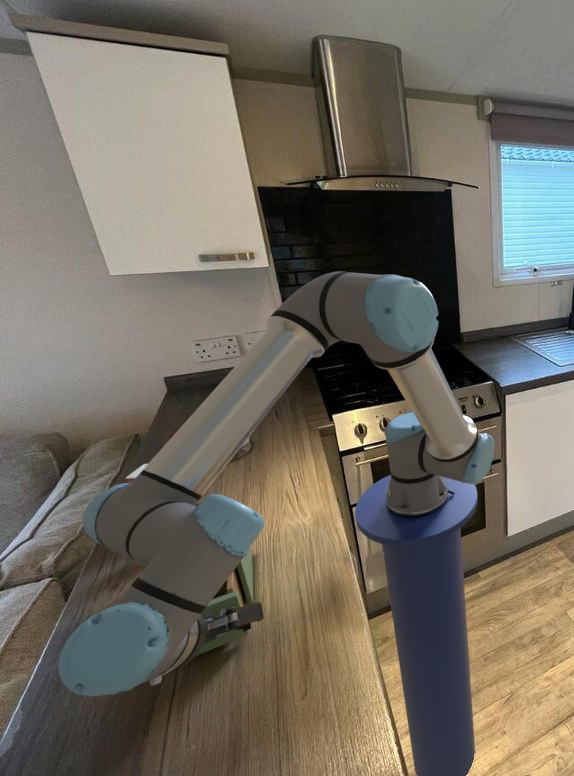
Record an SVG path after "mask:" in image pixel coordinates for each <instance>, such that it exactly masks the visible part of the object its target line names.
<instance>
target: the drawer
mask: <svg viewBox="0 0 574 776" xmlns="http://www.w3.org/2000/svg"><path fill="white" fill-rule="evenodd" d="M243 595H244V590H243V586H242V583H241V580H240V576H239V573H238V569H237V567H236V568H235V569H234V571H233V572H232V573H231V575H230V576H229V577H228V579H227V580H226V581H225V583H224V584H223V585H222V587H221V588H220V589H219V591H218V592H217V593H216V595H215V596H214V597H213V599H212V600H211V601H210V603H209V604H208V605H207V607H206V608H205V609H204V611H203V612H202V614H201V616H202V617H203V616H207V615H210V614H213V615H214V616H215V617H217V616H220V615H223V612H225V611H226V610H227V609H229V608H231V607H241V606H243ZM248 635H249V630H247V631H245V632H243V629H242V630H237V629H235V630H232V631H229V632H226V633H223V634H220V635H217V637H216V639H215V640H213V641H210V642H208V643H206V644H203V645H202V647H201V649H200V650H199V652H198V653H197V655H196V656H199V655H201V654H204V653H207V652H209V651H211V650H213V649H217V648H218V647H221V646H223V645H226V644H229V643H231V642H233V641H236V640H238V639H241V638H243V637H246V636H248Z"/></svg>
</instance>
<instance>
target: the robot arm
mask: <svg viewBox="0 0 574 776" xmlns="http://www.w3.org/2000/svg"><path fill="white" fill-rule="evenodd" d="M438 310H439V309H438V306H437V303H436V300H435V298H434V297H433V294H432V293H431V292H430V290H429V289H428V288H427V287H426V286H425V285H424V284H423V283H422V282H420V281H418V280H417V279H414V278H411V277H407V276H406V277H405V276H401V275H399V274H394V273H393V274H373V273H360V272H350V271H333V272H329V273H324V274H323V275H320V276H318V277H315V278H313V279H312V280H311V281H308V282H307V283H306V284H304V285H303V286H301V287H299V288H298V289H297V290H296V291H294V293H292V294H291V295H290V296H288V298H286V299H285V300H284V301H283V302H282V303H281V304H280V305H279V306H278V307H277V308H276V310H274V311H273V313H272V314H271V315H270V316H269V317H268V318H267V319H266V325H267V330H266V331H265V332H264V333H263V334H262V336H261V337H260V338H259V339H258V340H257V341H256V343H254V345H253V346H251V348H250V349H249V350H248V351H247V353H245V354H244V356H243V357H242V358H241V359H240V360H239V361H238V363H237V364H236V365H235V366H234V367H233V368H232V369H231V371H230V372H228V374H227V375H226V376H225V377H224V378H223V379H222V381H220V383H219V384H217V386H216V387H215V388H214V389H213V390H212V392H211V393H210V394H209V395H208V396H207V397H206V399H205V400H204V401H202V403H201V404H200V405H199V406H198V407H197V408H196V410H195V411H194V412H193V413H192V414H191V415H190V416H189V417H188V418H187V420H186V421H185V422H184V423H183V424H182V425H181V427H180V428H178V430H176V432H175V433H174V434H173V435H172V436H171V438H170V439H169V440H168V441H167V442H166V443H165V445H164V446H162V448H161V449H160V450H159V451H158V452H157V453H156V454H155V456H154V457H153V458H152V459H151V460H150V461H149V462H148V463H147V464H148V465H147V466H146V467H145V468H144V469H143V470H142V472H141V473H140V474H139V475H138V476H137V477H136V478H135V479H134V480H133V481H132V482H131V483H119V484H115V485H113V486H111V487H109V488H107V489H105V490H103V491H102V492H100V493H98V494H97V495H96V496H94V497H93V499H91V501H90V502H89V503H88V504H87V506H86V508H85V510H84V513H83V516H82V528H83V530H84V532H85V534H87V536H89V537H90V538H91V539H93V541H96V542H97V543H98V544H99V545H100V546H102V547H104V549H105V550H107V551H110V552H113V553H117V554H119V555H122V556H123V557H126V558H128V559H130V560H132V561H133V562H136V563H137V564H139V565H141V566H143V567H145V568H144V569H143V570H142V571H141V573H140V574H139V575H138V576H137V577H136V578H135V579H134V580H133V582H132V583H131V585H130V586H129V587H128V588H127V589H126V590H125V592H123V594H122V595H121V596H120V597H119V599H118V600H117V601H116V602H115V603H114V604H113V605H111V606H110V607H107V608H104V609H103V610H101V611H99V612H97V613H95V614H94V615H92V616H90V617H88V618H87V619H86V620H84V621H83V622H82V623H81V624H79V625H78V626H77V628H75V630H74V631H73V632H72V633H71V634H70V635H69V637H68V638H67V640H66V641H65V643H64V645H63V646H62V649H61V651H60V655H59V659H58V675H59V679H60V681H61V683H62V684H63V685H64V687H66V689H68V690H69V691H70V692H72V693H74V694H75V695H80V696H84V697H101V696H107V695H110V696H114V695H118V694H123V693H126V692H128V691H131V690H133V688H135V687H138V686H139V685H141V684H145V683H148V682H149V685H150V686H151V687H154V686H157V685H159V684H160V683H161V682H162V681H163V677H165V676H169V675H171V674H174V673H176V672H178V671H180V670H182V669H183V668H185V666H187V665H189V664H190V662H191V661H193V659H195V657H196V656H198V655H197V653H198V652H199V650H200V649H201V647H202V645H203V644H206V643H208V642H210V641H213V640H215V639H216V637H217V635H220V634H223V633H226V632H229V631H232V630H235V629H237V630H242V629H243V632H245V631H247V630H248V631H249V630H252V627H253V626H252V623H255V622H260V621H262V620H263V619H264V618H265V616H264V611H263V604H262V601H256V602H254V603H253V604H250V605H246V606H241V607H231V608H229V609H227V610H226V611H225V612H223V615H220V616H217V617H215V616H214V615H213V614H210V615H207V616H203V617H202V616H201V614H202V612H203V611H204V609H205V608H206V607H207V605H208V604H209V603H210V601H211V600H212V599H213V597H214V596H215V595H216V593H217V592H218V591H219V589H220V588H221V587H222V585H223V584H224V583H225V581H226V580H227V579H228V577H229V576H230V575H231V573H232V572H233V571H234V569H235V568H236V567H237V566H238V564H239V563H240V562H241V560H242V559H243V558H244V557H245V556H246V555H247V553H248V552H249V549H250V550H251V547H252V546H253V544H254V543H255V541H256V539H257V538H258V536H259V535H260V534H261V532H262V531H263V528H264V527H265V520H264V517H263V516H262V515H261V514H260V513H259V512H257V511H256V510H254V509H252V508H250V507H249V506H247V505H245V504H244V503H241V502H239V501H237V500H235V499H233V498H231V497H228V496H226V495H223V494H220V493H211V494H209V495H207V496H206V497H205V498H204V499H203V500H202V501H201V502H200V503H199V504H198V502H199V501H200V500H201V498H202V497H203V496H204V495H205V493H206V492H207V491H208V490H209V488H210V487H211V485H213V484H214V482H215V481H216V479H217V478H218V477H219V475H220V474H221V473H222V472H223V470H224V469H225V468H226V467H227V465H228V464H229V463H230V462H231V461H230V460H231V459H232V458H233V456H234V455H235V454H236V453H237V451H238V450H239V449H240V448H241V446H242V445H243V444H244V443H245V441H246V440H247V439H248V437H249V438H250V436H251V435H252V434H253V432H254V431H255V430H256V429H257V428H258V426H259V425H260V423H261V422H263V420H264V418H266V416H267V415H268V413H270V411H271V409H272V408H274V406H275V405H276V403H277V402H278V401H279V399H281V397H282V396H283V394H285V392H286V391H287V390H288V389H289V387H290V386H291V384H292V383H293V382H294V380H296V378H297V377H298V376H299V375H300V373H301V372H302V370H303V369H304V368H305V367H306V366H307V364H308V363H309V362H310V361H311V359H312V358H320V357H322V356H323V355H324V354H325V352H326V351H327V349H328V348H329V347H330V346H332V345H334V344H335V343H337V342H338V343H339V342H346V343H352V344H358V345H359V346H361V348H362V350H364V352H365V354H366V355H367V357H368V358H369V359H370V361H371V363H372V364H373V365H374V366H375V367H377V368H379V369H383V370H387V372H388V374H389V376H390V377H391V378H392V380H393V382H394V383H395V385H396V386H397V388H398V390H399V391H400V394H401V395H402V397H403V398H404V400H405V401H406V403H407V405H408V407H409V408H410V410H411V412H407V413H404V414H401V415H397V416H396V417H394V418H393V419H391V420H390V421H389V422H388V423H387V425H386V426H385V444H386V451H387V457H388V464H389V471H390V475H391V480H390V484H389V487H387V491H388V492H387V496H386V502H387V508H388V510H389V511H390V512H391V513H392V514H394V515H396V516H398V517H402V518H419V517H424V516H427V515H430V514H432V513H434V512H436V511H438V510H439V509H441V508H442V507H443V506H444V505H445V503H446V502H447V500H448V493H450V494H452V495H454V493H455V492H452V491H450V490H448V486H447V484H446V482H445V480H444V478H443V477H445V478H449V479H453V480H456V481H460V482H462V483H468V484H474V485H477V484H479V483H480V482H482V481H483V480H484V478H485V477H486V475H487V473H488V471H489V469H490V468H491V466H492V465H491V464H492V462H493V459H494V454H495V440H494V437H492V436H491V434H490V435H489V434H487V433H482V432H479V429H478V427H477V425H476V424H475V423H474V421H473V419H471V418H470V417H468V416H466V415H464V414H463V413H462V410H461V408H460V405H459V403H458V402H457V400H456V398H455V396H454V393H453V391H452V389H451V387H450V385H449V383H448V381H447V379H446V377H445V374H444V372H443V370H442V368H441V366H440V364H439V362H438V360H437V358H436V356H435V354H434V351H433V350H432V347H433V345H434V342H435V337H436V335H437V332H438V328H439V320H437V317H438V316H439V311H438ZM229 461H230V462H229Z"/></svg>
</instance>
